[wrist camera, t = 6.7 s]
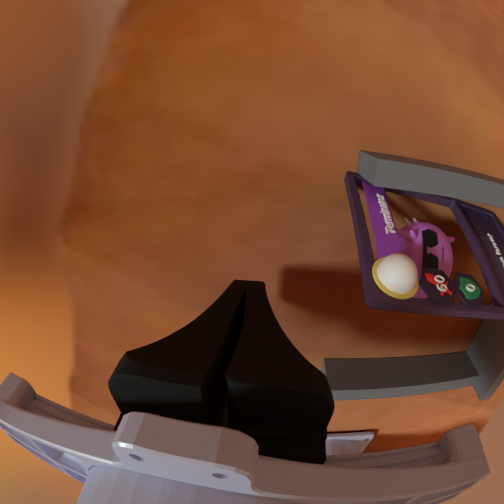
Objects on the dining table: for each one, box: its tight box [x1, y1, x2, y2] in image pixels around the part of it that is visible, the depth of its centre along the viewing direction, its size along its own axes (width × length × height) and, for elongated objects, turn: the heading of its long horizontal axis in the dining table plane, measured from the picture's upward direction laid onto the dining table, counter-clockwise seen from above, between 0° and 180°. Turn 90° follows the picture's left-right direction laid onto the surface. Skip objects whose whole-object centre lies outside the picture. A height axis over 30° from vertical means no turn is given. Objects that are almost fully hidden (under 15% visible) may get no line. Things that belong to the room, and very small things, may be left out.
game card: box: [345, 171, 504, 320], centre depth 11 cm, size 7×5×9 cm
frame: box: [321, 150, 504, 401], centre depth 12 cm, size 13×12×4 cm
